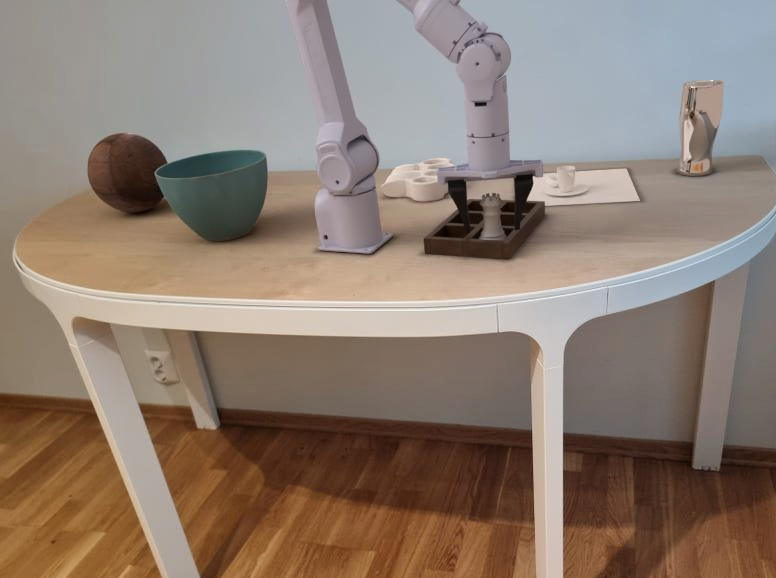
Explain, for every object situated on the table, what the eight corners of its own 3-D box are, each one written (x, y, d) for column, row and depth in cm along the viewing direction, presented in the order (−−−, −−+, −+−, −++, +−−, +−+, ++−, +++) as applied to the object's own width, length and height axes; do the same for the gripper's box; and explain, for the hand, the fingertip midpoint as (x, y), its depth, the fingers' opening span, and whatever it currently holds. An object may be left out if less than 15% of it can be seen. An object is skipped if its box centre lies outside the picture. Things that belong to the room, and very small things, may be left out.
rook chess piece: (489, 241, 105) (486, 189, 101) (514, 246, 102) (512, 192, 99) (472, 251, 102) (468, 198, 98) (497, 256, 100) (494, 201, 96)
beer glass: (676, 177, 123) (684, 88, 116) (671, 167, 129) (678, 81, 122) (718, 175, 122) (729, 85, 115) (711, 165, 128) (720, 78, 121)
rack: (424, 253, 104) (423, 238, 102) (469, 212, 118) (469, 198, 117) (508, 259, 98) (508, 243, 97) (545, 215, 113) (545, 201, 112)
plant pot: (152, 250, 118) (130, 178, 112) (214, 215, 132) (198, 149, 126) (243, 254, 111) (225, 178, 105) (298, 217, 126) (285, 148, 120)
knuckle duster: (396, 177, 143) (467, 173, 140) (378, 204, 128) (458, 200, 125) (394, 160, 141) (466, 156, 139) (376, 186, 126) (456, 181, 123)
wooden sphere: (190, 196, 146) (170, 122, 138) (159, 220, 133) (136, 139, 125) (123, 201, 148) (100, 128, 141) (87, 224, 135) (60, 146, 128)
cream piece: (542, 184, 128) (541, 162, 126) (586, 182, 126) (587, 159, 124) (542, 199, 120) (542, 175, 118) (590, 196, 119) (590, 173, 117)
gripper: (432, 144, 92) (441, 242, 98) (544, 134, 90) (545, 235, 97) (435, 132, 98) (443, 225, 104) (540, 123, 96) (541, 218, 103)
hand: (492, 229), depth 101 cm, fingers open, 6 cm apart
